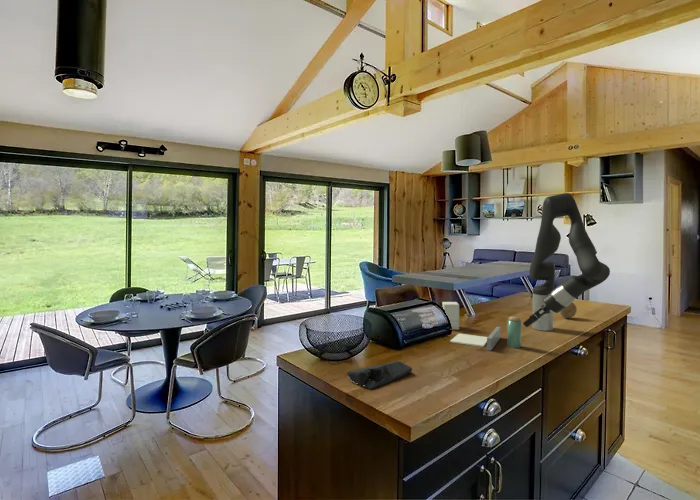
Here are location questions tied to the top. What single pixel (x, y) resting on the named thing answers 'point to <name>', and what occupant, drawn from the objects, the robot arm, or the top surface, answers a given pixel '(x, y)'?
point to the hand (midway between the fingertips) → (527, 323)
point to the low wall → (493, 338)
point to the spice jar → (514, 332)
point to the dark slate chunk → (379, 374)
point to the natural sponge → (569, 311)
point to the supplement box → (452, 313)
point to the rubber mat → (470, 340)
